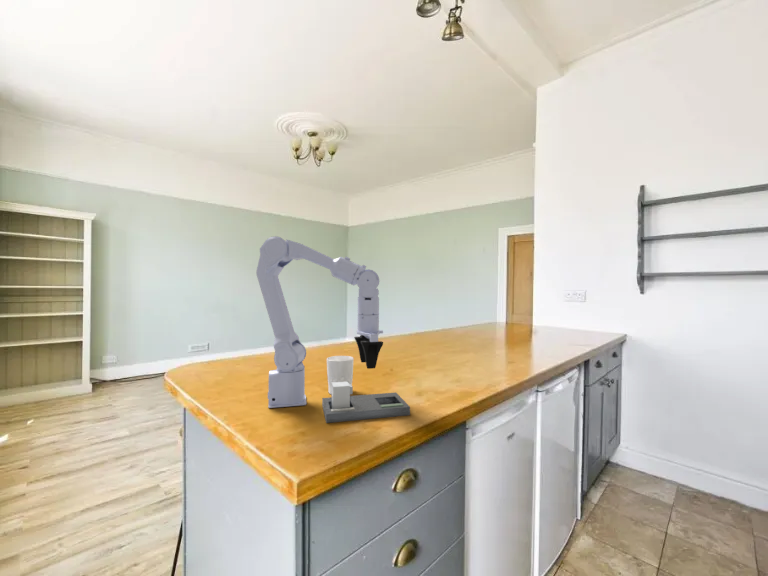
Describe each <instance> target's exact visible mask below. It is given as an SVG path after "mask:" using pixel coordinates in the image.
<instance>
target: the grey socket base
mask: <svg viewBox="0 0 768 576" xmlns="http://www.w3.org/2000/svg"><path fill="white" fill-rule="evenodd" d="M321 406H322V410H323V414H324V419H325V423H326V424H328V423H329V424H330V423H339V422H340V423H342V422H350V421H363V420H372V419H381V418H382V419H384V418H394V417H404V416H411V407H410V405H409V404H408V403H407V402H406V401H405V400H404V399H403V398H402V397H401V396H400V395H399V394H398V393H397V392H387V393H386V392H383V393H370V394H360V395H359V394H357V395H350V407H348V408H336V409H332V396H331V397H322V404H321Z"/></svg>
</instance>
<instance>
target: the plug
mask: <svg viewBox="0 0 768 576" xmlns="http://www.w3.org/2000/svg"><path fill="white" fill-rule="evenodd" d="M353 387H354V386H353V384H352V385H351V384H349V383H348V382H333V383H332V394H331V397H332V409H336V408H348V407H350V396H351V395H353V391H354V390H353Z"/></svg>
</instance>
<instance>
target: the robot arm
mask: <svg viewBox="0 0 768 576" xmlns="http://www.w3.org/2000/svg"><path fill="white" fill-rule="evenodd" d="M294 260H295V261H300V260H306V261H308V262H310V263H314V264H316V265H319V266H320V267H323V268H325V269H328V270H329V271H330V274H331V276H332V277H334V278H336V279H338V280H340V281H342V282H345V283H347V284H349V285H351V286H357V287H358V296H357V330H356V334H357V335H358V336H354V340H355V342H356V345H357V348H358V354H359V358H360V362H361V363H365V366H366V368H367V370H369V369H370V370H371V369H376V366H377V362H378V358H379V354H380V352H381V349H382V347H383V345H384V342H383V341H381V340H380V341H379V336H380V334H384V330H383V329H380V328H379V327H380V325H379V324H380V297H379V295H380V292H379V288H378V287H379V285H380V278H379V275H378V273H377V272H376V271H374V270H373V269H366V268H367V265H364V264H362V265H360V264H358V263H356V262H353V261H351V257H349V256H345V257H343V256H339V257H337V258H333V257H331V256H328V255H326V254H324V253H322V252H320V251H318V250H315V249H313V248H311V247H309V246H308V245H305V244H303V243H300V242H296V241H294V240H290V239H283V238H282V237H280V236H277V235H275V236H270V237H268V238H267V239H265V241H264V242H263V243H262V245H261V246H260V247H259V259H258V263H257V267H256V278H257V280H258V284H259V288H260V291H261V293H262V298H263V301H264V304H265V308H266V310H267V315H268V318H269V321H270V325H271V328H272V331H273V335H274V341H273V349H274V356H273V360H274V361H273V362H274V364H275V366H276V369H273V370H269V372H268V392H267V399H268V405H267V406H268V408H269V409H272V408H284V407H286V408H287V407H299V406H306V405H307V395H306V394H305V391H306V390H305V385H306V384H305V382H306V381H305V379H306V377H305V372H306V371H305V365H304V363H303V361H304V360H305V358H306V356H307V349H306V347H305V345H304V344H303V343H302V342H301V340H300V338H299V336H298V334H297V332H295V330H294V327H293V326H294V325H293V323H292V320H291V317H290V313H289V309H288V306H287V303H286V300H285V296H284V292H283V289H282V285H281V282H280V278H279V275H280V274H281V273H282V271H283V269H284V268H285V267H286V266H287V265H289V264H290V263H291V262H292V261H294Z"/></svg>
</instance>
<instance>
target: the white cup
mask: <svg viewBox="0 0 768 576" xmlns="http://www.w3.org/2000/svg"><path fill="white" fill-rule="evenodd" d="M326 373H327V374H326V375H327V385H328V393H329V394H330V395H332V383H333V382H348V383H349V384H351V385H352V386H353V376H354V374H353V373H354V357H353V356H349V355H334V356H333V355H332V356H329V357H327V358H326Z"/></svg>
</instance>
